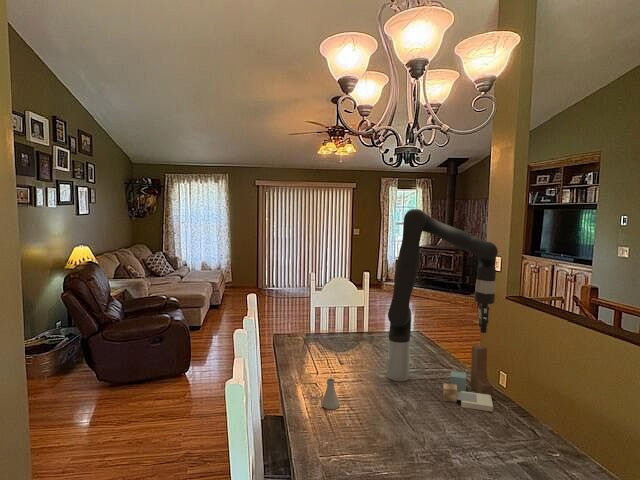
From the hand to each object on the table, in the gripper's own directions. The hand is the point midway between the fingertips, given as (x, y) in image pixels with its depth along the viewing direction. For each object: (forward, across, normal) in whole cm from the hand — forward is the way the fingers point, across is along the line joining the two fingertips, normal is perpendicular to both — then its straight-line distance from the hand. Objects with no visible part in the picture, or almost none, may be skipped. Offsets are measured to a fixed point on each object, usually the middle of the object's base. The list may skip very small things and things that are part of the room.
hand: (482, 329), depth 164 cm
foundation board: (+25, +14, -2) cm, 29 cm away
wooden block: (+26, +2, +1) cm, 26 cm away
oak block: (+26, +13, -11) cm, 31 cm away
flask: (+27, +33, -54) cm, 69 cm away
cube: (+26, +2, -8) cm, 27 cm away
